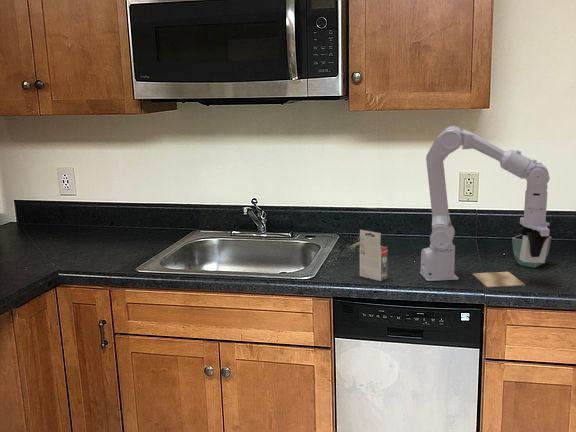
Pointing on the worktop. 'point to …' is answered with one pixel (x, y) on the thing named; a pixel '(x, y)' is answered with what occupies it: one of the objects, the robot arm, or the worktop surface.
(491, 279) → the board
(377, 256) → the ink box
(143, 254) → the worktop surface
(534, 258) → the slab
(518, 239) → the flower pot
